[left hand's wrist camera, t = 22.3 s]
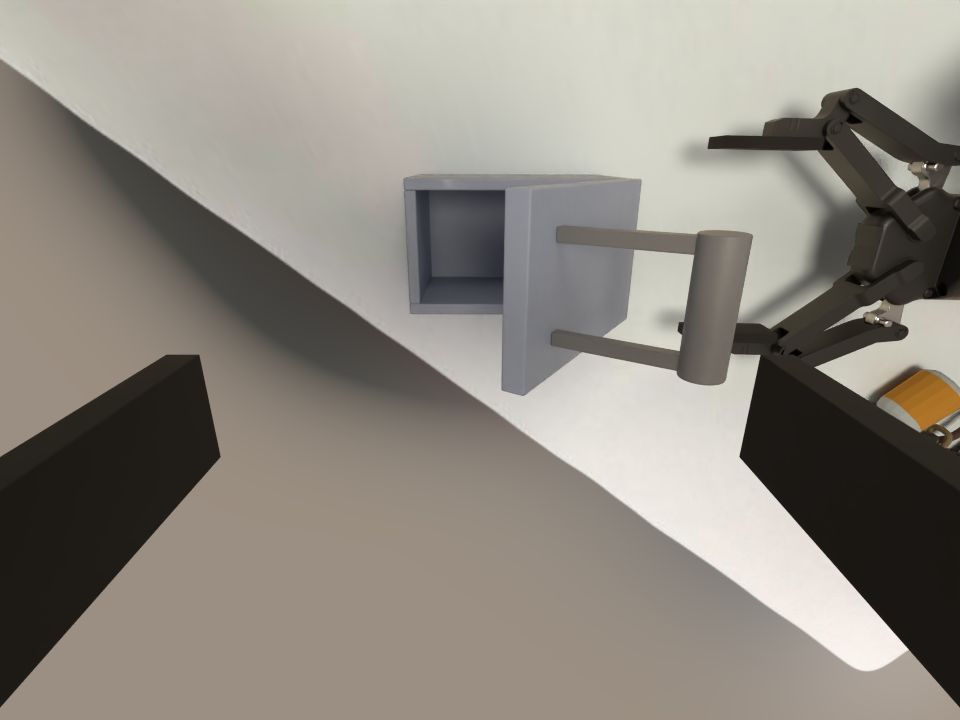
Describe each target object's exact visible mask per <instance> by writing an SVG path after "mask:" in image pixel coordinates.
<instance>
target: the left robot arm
mask: <svg viewBox="0 0 960 720" xmlns="http://www.w3.org/2000/svg"><path fill="white" fill-rule="evenodd" d="M220 457H221V456H220V452H219V447H218V442H217V437H216V433H215V428H214V423H213V419H212V414H211V409H210V404H209V399H208V394H207V390H206V385H205V380H204V375H203V370H202V366H201V361H200V356H199V355H165V356H164V357H162V358H160V359H159V360H157V361H156V362H154V363H152V364H151V365H149V366H147V367H146V368H144V369H143V370H141V371H139V372H138V373H136V374H134V375H133V376H131V377H130V378H128V379H126V380H125V381H123V382H121V383H120V384H118V385H116V386H115V387H113V388H112V389H110V390H108V391H107V392H105V393H103V394H102V395H100V396H99V397H97V398H95V399H94V400H92V401H90V402H89V403H87V404H86V405H84V406H82V407H81V408H79V409H78V410H76V411H74V412H73V413H71V414H69V415H68V416H66V417H64V418H63V419H61V420H60V421H58V422H56V423H55V424H53V425H51V426H50V427H48V428H47V429H45V430H43V431H42V432H40V433H39V434H37V435H35V436H34V437H32V438H30V439H29V440H27V441H25V442H24V443H22V444H21V445H19V446H17V447H16V448H14V449H13V450H11V451H9V452H8V453H6V454H4V455H3V456H1V457H0V707H1V706H2V705H3V704H4V703H5V701H6V700H7V699H8V698H9V697H10V696H11V695H12V693H13V692H14V691H15V690H16V689H17V688H18V687H19V686H20V684H21V683H22V682H23V681H24V680H25V679H26V678H27V676H28V675H29V674H30V673H31V672H32V671H33V670H34V668H35V667H36V666H37V665H38V664H39V663H40V662H41V660H42V659H43V658H44V657H45V656H46V655H47V654H48V653H49V651H50V650H51V649H52V648H53V647H54V646H55V645H56V643H57V642H58V641H59V640H60V639H61V638H62V637H63V635H64V634H65V633H66V632H67V631H68V630H69V629H70V628H71V626H72V625H73V624H74V623H75V622H76V621H77V620H78V618H79V617H80V616H81V615H82V614H83V613H84V612H85V610H86V609H87V608H88V607H89V606H90V605H91V604H92V602H93V601H94V600H95V599H96V598H97V597H98V596H99V595H100V593H101V592H102V591H103V590H104V589H105V588H106V587H107V585H108V584H109V583H110V582H111V581H112V580H113V579H114V578H115V576H116V575H117V574H118V573H119V572H120V571H121V570H122V568H123V567H124V566H125V565H126V564H127V563H128V562H129V560H130V559H131V558H132V557H133V556H134V555H135V554H136V552H137V551H138V550H139V549H140V548H141V547H142V546H143V545H144V543H145V542H146V541H147V540H148V539H149V538H150V536H151V535H152V534H153V533H154V532H155V531H156V530H157V529H158V527H159V526H160V525H161V524H162V523H163V522H164V521H165V520H166V518H167V517H168V516H169V515H170V514H171V513H172V512H173V510H174V509H175V508H176V507H177V506H178V505H179V504H180V502H181V501H182V500H183V499H184V498H185V497H186V496H187V494H188V493H189V492H190V491H191V490H192V489H193V488H194V486H195V485H196V484H197V483H198V482H199V481H200V480H201V479H202V477H203V476H204V475H205V474H206V473H207V472H208V471H209V469H210V468H211V467H212V466H213V465H214V464H215V463H216V462H217V460H218V459H219V458H220ZM739 457H740V458H741V459H742V460H743V462H744V463H745V464H746V465H747V466H748V467H749V468H750V469H751V471H752V472H753V473H754V474H755V475H756V476H757V477H758V479H759V480H760V481H761V482H762V483H763V484H764V485H765V487H766V488H767V489H768V490H769V491H770V492H771V493H772V494H773V496H774V497H775V498H776V499H777V500H778V501H779V502H780V504H781V505H782V506H783V507H784V508H785V509H786V510H787V512H788V513H789V514H790V515H791V516H792V517H793V518H794V520H795V521H796V522H797V523H798V524H799V525H800V526H801V527H802V529H803V530H804V531H805V532H806V533H807V534H808V535H809V537H810V538H811V539H812V540H813V541H814V542H815V543H816V545H817V546H818V547H819V548H820V549H821V550H822V551H823V552H824V554H825V555H826V556H827V557H828V558H829V559H830V560H831V562H832V563H833V564H834V565H835V566H836V567H837V568H838V570H839V571H840V572H841V573H842V574H843V575H844V576H845V578H846V579H847V580H848V581H849V582H850V583H851V584H852V585H853V587H854V588H855V589H856V590H857V591H858V592H859V593H860V595H861V596H862V597H863V598H864V599H865V600H866V601H867V603H868V604H869V605H870V606H871V607H872V608H873V609H874V610H875V612H876V613H877V614H878V615H879V616H880V617H881V618H882V620H883V621H884V622H885V623H886V624H887V625H888V626H889V628H890V629H891V630H892V631H893V632H894V633H895V634H896V635H897V637H898V638H899V639H900V640H901V641H902V642H903V643H904V645H905V646H906V647H907V648H908V649H909V650H910V651H911V653H912V654H913V655H914V656H915V657H916V658H917V659H918V660H919V662H920V663H921V664H922V665H923V666H924V667H925V668H926V670H927V671H928V672H929V673H930V674H931V675H932V676H933V678H934V679H935V680H936V681H937V682H938V683H939V684H940V686H941V687H942V688H943V689H944V690H945V691H946V692H947V693H948V695H949V696H950V697H951V698H952V699H953V700H954V701H955V703H956V704H957V705H958V706H959V707H960V457H959V456H957V455H956V454H954V453H952V452H951V451H949V450H948V449H946V448H944V447H943V446H941V445H939V444H938V443H936V442H935V441H933V440H931V439H930V438H928V437H926V436H925V435H923V434H922V433H920V432H918V431H917V430H915V429H913V428H912V427H910V426H909V425H907V424H905V423H904V422H902V421H900V420H899V419H897V418H896V417H894V416H892V415H891V414H889V413H887V412H886V411H884V410H883V409H881V408H879V407H878V406H876V405H874V404H873V403H871V402H870V401H868V400H866V399H865V398H863V397H861V396H860V395H858V394H857V393H855V392H853V391H852V390H850V389H848V388H847V387H845V386H844V385H842V384H840V383H839V382H837V381H835V380H834V379H832V378H831V377H829V376H827V375H826V374H824V373H822V372H821V371H819V370H817V369H816V368H814V367H813V366H811V365H809V364H808V363H806V362H804V361H803V360H801V359H800V358H798V357H796V356H795V355H761V356H760V361H759V366H758V370H757V375H756V380H755V385H754V390H753V394H752V399H751V404H750V409H749V413H748V418H747V423H746V428H745V433H744V437H743V442H742V447H741V452H740V456H739Z"/></svg>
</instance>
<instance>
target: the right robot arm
mask: <svg viewBox="0 0 960 720" xmlns="http://www.w3.org/2000/svg"><path fill="white" fill-rule="evenodd" d="M821 107H822V108H821V110H820V112H819V113H818V115H817V116H816V117H815V118H813V119H805V118H781V119H774V120H771V121H768V122H766V123H765V125H764V130H763V135H762V136H730V135H726V136H717V137H710V138H709V144H708V149H743V150H790V151H804V150H818V152H819V153H820V154H821V155H822V156H823V158H824V159H825V160H826V161H827V162H828V164H829V165H830V166H831V167H832V168H833V170H834V171H835V172H836V173H837V174H838V176H839V177H840V178H841V179H842V181H843V182H844V183H845V184H846V185H847V187H848V188H849V189H850V190H851V191H852V193H853V194H854V195H855V196H856V198H857V199H856V202H857V204H858V205H859V206H860V207H861V208H862V210H863V211H864V212H865V213H866V214H867V217H866V219H865V220H864V221H863V223H859V224H858V227H857V231H856V244H855V246H854V248H853V250H852V252H851V254H850V256H849V260H848V264H847V265H849V266H851V271H850V272H848V273H847V274H846V275H844V276H843V277H841V278H840V279H838V280H837V281H835V282H834V283H833V287H832V288H831V289H829V290H828V291H826V292H825V293H823V294H822V295H820V296H819V297H817V298H816V299H814V300H813V301H811V302H810V303H808V304H807V305H805V306H804V307H802V308H801V309H799V310H798V311H796V312H795V313H793V314H792V315H790V316H789V317H787V318H786V319H784V320H783V321H781V322H780V323H778V324H777V325H775V326H774V327H772V328H771V329H768V328H766V327H765V326H763V325H761V324H748V323H736V328H735V334H734V339H733V344H732V349H731V353H733V354H749V355H795V356H796V357H798V358H800V359H801V360H803V361H804V362H806V363H808V364H809V365H811V366H813V367H816V366H819V365H821V364H824V363H826V362H829V361H831V360H834V359H836V358H839V357H841V356H844V355H846V354H849V353H851V352H854V351H856V350H859V349H861V348H864V347H866V346H869V345H871V344H874V343H877V342H888V341H899V340H902V339H904V338H905V337H906V336H907V335H908V328H907V327H906V326H904V325H901V324H900V321H901V317H902V312H903V307H904V305H905V304H908V303H910V302H912V301H915V300H919V299H937V300H960V194H949V193H947V192H946V191H944V190H943V189H942V187H943V185H944V183H945V180H946V178H947V176H948V173H949V171H950V169H951V167H952V166H958V165H960V146H956V145H949V144H942V143H938V142H937V141H936V140H934V139H933V138H931V137H930V136H928V135H927V134H925V133H924V132H922V131H921V130H919V129H918V128H916V127H915V126H914V125H912V124H911V123H909V122H908V121H906V120H905V119H903V118H902V117H900V116H899V115H897V114H896V113H895V112H893V111H892V110H890V109H889V108H887V107H886V106H884V105H883V104H881V103H880V102H878V101H877V100H875V99H874V98H873V97H871V96H870V95H868V94H867V93H865V92H864V91H862V90H861V89H859V88H853V89H848V90H843V91H838V92H833V93H829V94H827V95H826V96H825V97H824V98H823V100H822V102H821ZM850 128H851V129H852V130H854V131H855V132H857V133H858V134H860V135H861V136H863V137H864V138H866V139H867V140H869V141H870V142H872V143H873V144H875V145H876V146H878V147H879V148H881V149H882V150H884V151H885V152H887V153H888V154H890V155H891V156H893V157H894V158H896V159H898V160H900V161H903V162H907V163H910V164H909V165H908V170H909V171H911V172H912V174H913V175H915V176H917V177H918V178H919V186H918V187H915V188H912V189H910V190H909V191H907V192H905V191H904V190H903V189H901V188H898V187H897V186H896V185H895V184H894V183H893V182H892V181H891V179H890V178H889V177H888V176H887V174H886V173H885V172H884V171H883V169H882V168H881V167H880V166H879V164H878V163H877V162H876V161H875V159H874V158H873V157H872V156H871V154H870V153H869V152H868V151H867V149H866V148H865V147H864V146H863V144H862V143H861V142H860V141H859V139H858V138H857V137H856V136H855V134H854V133H853V132H852V131H851V129H850ZM861 284H863V285H864V286H860V285H861ZM878 300H881V301H882V304H881V306H880V307H879V308H878V309H877V310H874V311H871V312H866V313H864V314H863V318H860V319H855V320H851V321H848V322H845V323H843V324H840V325H838V326H836V327H833V328H831V329H828V330H826V329H827V328H829V327H830V326H832V325H834V324H835V323H837V322H838V321H840V320H841V319H843V318H844V317H846V316H847V315H849V314H850V313H852V312H854V311H855V310H857V309H858V308H860V307H863V306H869V305H871V304H873V303H875V302H876V301H878ZM683 327H684V322H679V326H678V332H679V333H680V334H682V333H683ZM824 330H826V331H824Z"/></svg>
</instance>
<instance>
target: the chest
mask: <svg viewBox="0 0 960 720" xmlns="http://www.w3.org/2000/svg"><path fill="white" fill-rule="evenodd" d="M614 179H628V178H619V177H610V176H602V175H425V174H421V175H417V176H412V177H407V178H404V190H405V191H404V196H405V217H406V238H407V258H408V279H409V300H410V314H503V284H504V231H505V190H506V188H510V187H523V186H536V185H549V184H562V183H575V182H588V181H601V180H614Z"/></svg>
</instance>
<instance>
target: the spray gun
mask: <svg viewBox="0 0 960 720" xmlns="http://www.w3.org/2000/svg"><path fill="white" fill-rule="evenodd" d="M876 406H878V407H879V408H881V409H883V410H884V411H886V412H887V413H889V414H891V415H892V416H894V417H896V418H897V419H899V420H900V421H902V422H904V423H905V424H907V425H909V426H910V427H912V428H913V429H915V430H917V431H918V432H920V433H922V434H923V435H925V436H926V437H928V438H930V439H931V440H933V441H935V442H936V443H938V444H941V446H943V447H944V448H947V447H948V446H949V445H950V444H951V442H952V441H954V440H956V439H958V438H960V427H959V428H958V429H956V430H955V431H953V432H951V433H950V432H949V431H948V430H947V429H945V428H944V427H942V426H939V425H937V424H935V423H937V422H938V421H940V420H942V419H943V418H945V417H947V416H948V415H950V414H952V413H953V412H955V411H957V410H958V409H960V387H959V386H958V385H957V384H956V383H955V382H954V381H952V380H951V379H950V378H948V377H947V376H946V375H944V374H943V373H941V372H939V371H936V370H920V371H919V372H917V373H916V374H914V375H913V376H911V377H910V378H908V379H907V380H905V381H904V382H902V383H901V384H899V385H898V386H897V387H895V388H894V389H892V390H891V391H889V392H888V393H886V394H885V395H883V396H882V397H881V398H880V399H879V400H878V402H877V405H876ZM928 427H929V428H928ZM927 428H928V429H927ZM925 429H927V431H926V432H923V431H924V430H925ZM936 429H937V430H939V431H940V432H942V433H943V434H944V435H945V436H936V435H935V434H933V432H934V430H936ZM949 451H951V452H952V453H954V454H956V455H957V456H959V457H960V450H959V451H958V452H956V451H954V450H952V449H951V450H949Z"/></svg>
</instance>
